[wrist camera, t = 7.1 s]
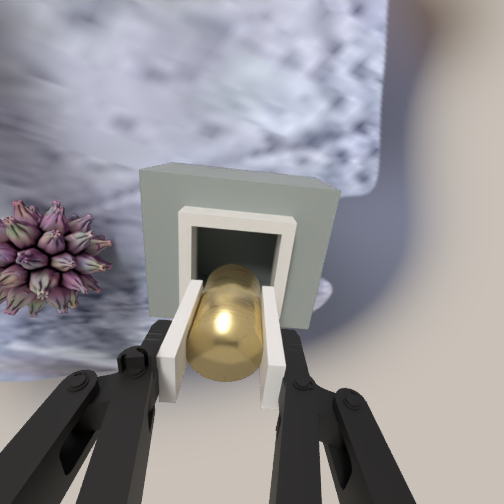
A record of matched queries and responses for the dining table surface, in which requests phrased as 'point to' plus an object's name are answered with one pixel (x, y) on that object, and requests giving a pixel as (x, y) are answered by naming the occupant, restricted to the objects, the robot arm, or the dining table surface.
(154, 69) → the dining table surface
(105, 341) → the dining table surface
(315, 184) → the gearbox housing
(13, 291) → the flower
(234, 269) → the brass slug
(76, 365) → the dining table surface
